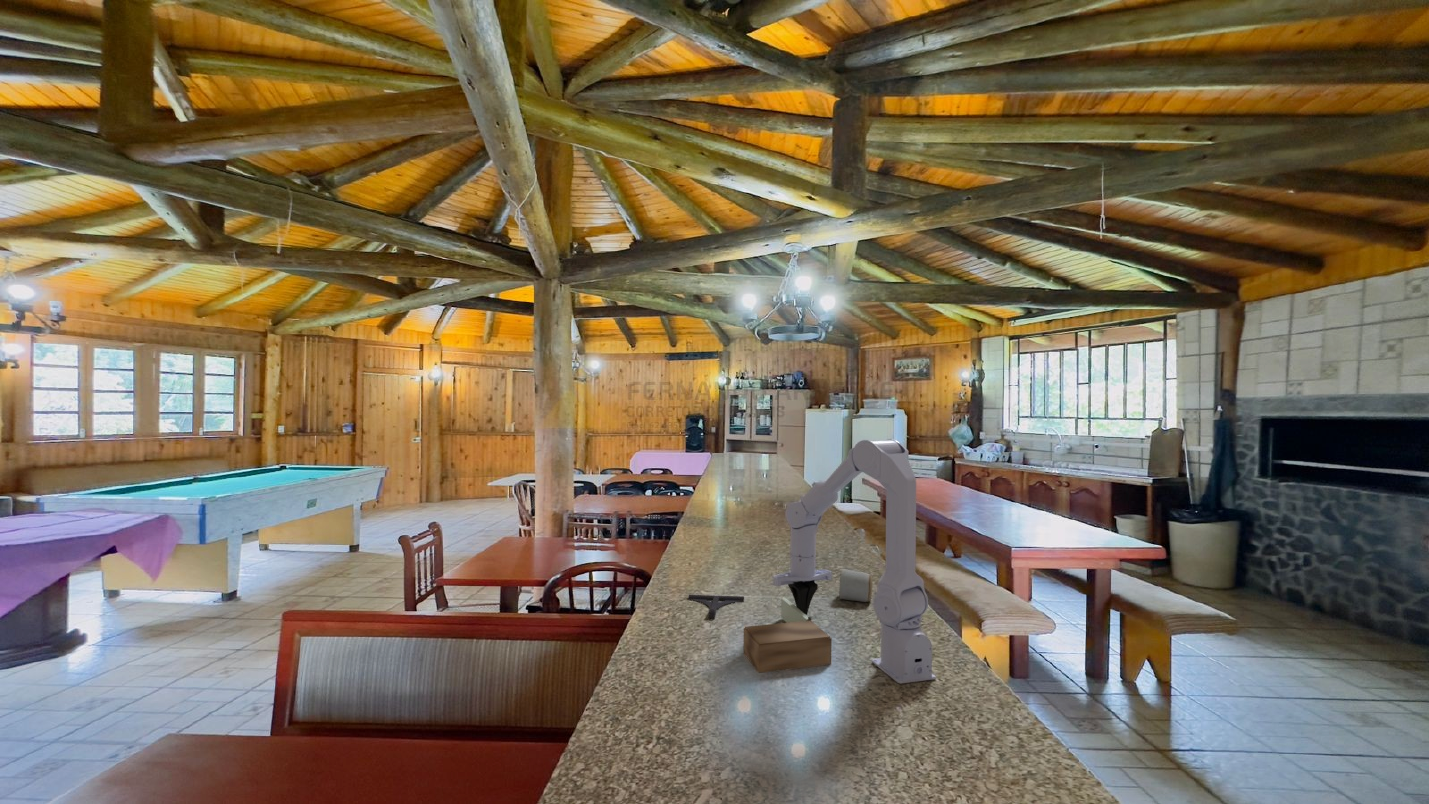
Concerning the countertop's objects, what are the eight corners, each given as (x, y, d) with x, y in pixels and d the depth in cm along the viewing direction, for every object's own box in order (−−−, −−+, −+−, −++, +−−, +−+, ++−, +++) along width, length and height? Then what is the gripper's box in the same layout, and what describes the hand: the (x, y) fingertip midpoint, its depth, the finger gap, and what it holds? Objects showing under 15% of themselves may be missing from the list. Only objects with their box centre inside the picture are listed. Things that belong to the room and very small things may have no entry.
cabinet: (832, 664, 108) (833, 635, 108) (758, 673, 104) (759, 642, 104) (810, 643, 118) (810, 616, 118) (741, 650, 114) (741, 622, 114)
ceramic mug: (871, 606, 141) (872, 575, 141) (838, 602, 143) (839, 572, 144) (872, 594, 151) (873, 565, 151) (842, 591, 154) (842, 562, 154)
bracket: (681, 621, 131) (681, 609, 131) (689, 600, 146) (689, 589, 146) (742, 624, 130) (742, 612, 130) (744, 602, 145) (744, 591, 145)
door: (814, 640, 118) (815, 618, 118) (806, 641, 118) (806, 619, 118) (788, 616, 132) (789, 597, 132) (780, 617, 131) (781, 597, 131)
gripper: (819, 547, 134) (819, 604, 133) (766, 552, 128) (765, 612, 127) (837, 554, 127) (836, 614, 127) (782, 560, 121) (781, 623, 121)
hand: (802, 614), depth 127 cm, fingers closed
